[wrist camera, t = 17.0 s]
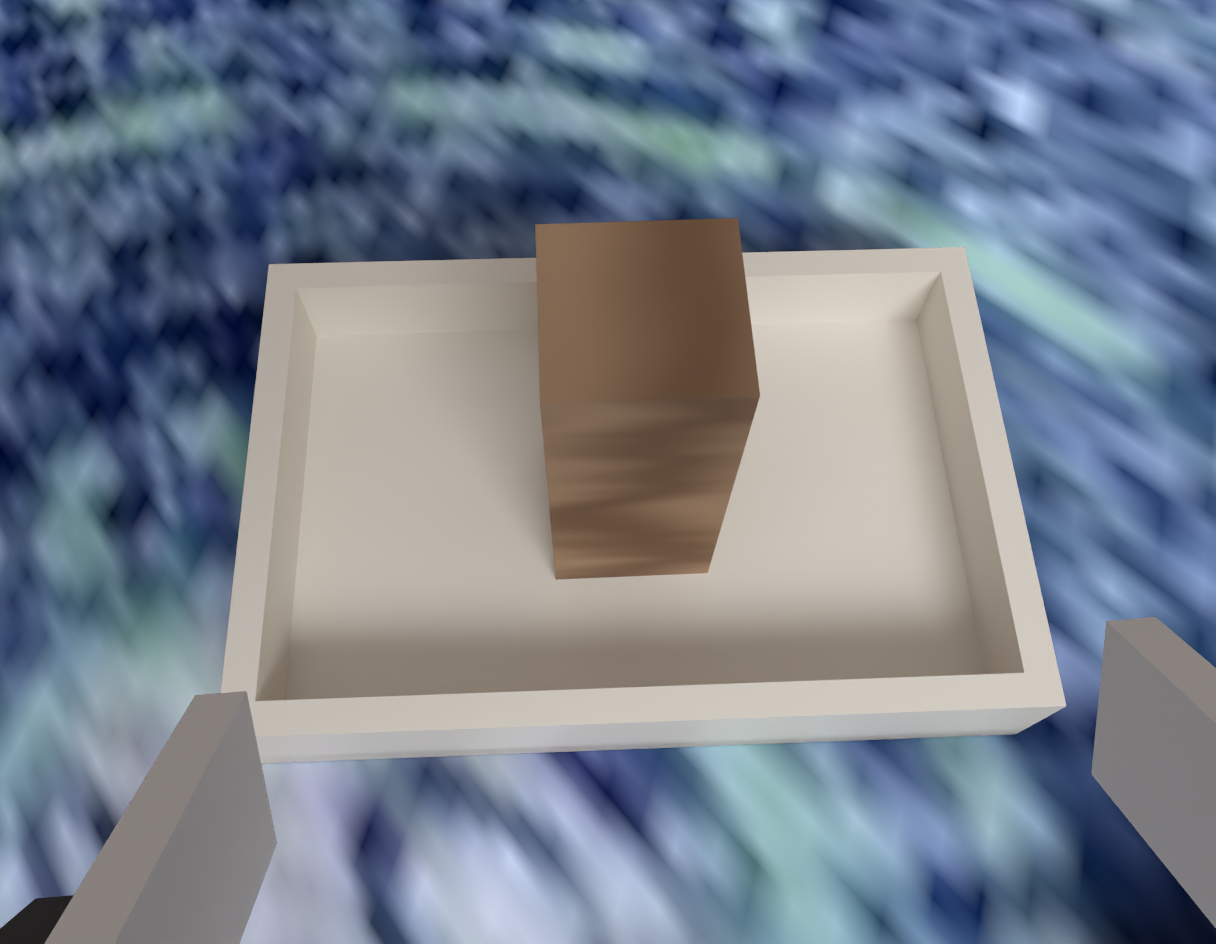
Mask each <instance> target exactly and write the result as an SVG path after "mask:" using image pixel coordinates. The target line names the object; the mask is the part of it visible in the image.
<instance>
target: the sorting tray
mask: <svg viewBox="0 0 1216 944" xmlns="http://www.w3.org/2000/svg"><path fill="white" fill-rule="evenodd" d="M742 255H743V263H744V270H745V278H746V286H747V294H748V302H749V310H750V318H751V326H752V334H753V342H754V350H755V358H756V366H757V374H758V382H759V390H760V398H759V401H758V404H757V408H756V411H755V415H754V418H753V421H752V425H751V428H750V432H749V435H748V438H747V442H746V445H745V448H744V452H743V455H742V459H741V462H740V465H739V469H738V472H737V476H736V479H735V482H734V486H733V489H732V492H731V496H730V499H729V503H728V506H727V509H726V513H725V516H724V520H723V523H722V526H721V530H720V533H719V536H718V540H717V543H716V547H715V550H714V553H713V557H712V560H711V564H710V567H709V570H708V573H699V574H676V575H652V576H628V577H605V578H581V579H558V580H556V578H555V567H554V555H553V544H552V533H551V522H550V511H549V499H548V488H547V477H546V466H545V454H544V443H543V432H542V421H541V410H540V386H539V348H538V310H537V272H536V258H505V259H464V260H423V261H382V262H341V263H300V264H269V268H268V277H267V286H266V295H265V303H264V312H263V321H262V330H261V339H260V348H259V357H258V365H257V374H256V383H255V392H254V401H253V410H252V419H251V427H250V436H249V445H248V454H247V463H246V472H245V481H244V489H243V498H242V507H241V516H240V525H239V534H238V543H237V551H236V560H235V569H234V578H233V587H232V596H231V605H230V613H229V622H228V631H227V640H226V649H225V658H224V667H223V675H222V684H221V693H228V692H240V691H247V695H248V700H249V705H250V710H251V715H252V720H253V725H254V730H255V735H256V740H257V745H258V750H259V755H260V760H261V763H283V762H309V761H335V760H361V759H387V758H412V757H438V756H464V755H490V754H516V753H542V752H567V751H593V750H619V749H645V748H671V747H697V746H723V745H748V744H774V743H800V742H826V741H852V740H878V739H903V738H929V737H955V736H981V735H1007V734H1017V733H1019V732H1020V731H1022V730H1024V729H1026V728H1028V727H1029V726H1031V725H1033V724H1035V723H1037V722H1039V721H1040V720H1042V719H1044V718H1046V717H1048V716H1049V715H1051V714H1053V713H1055V712H1057V711H1058V710H1060V709H1062V708H1064V707H1066V702H1065V698H1064V693H1063V689H1062V684H1061V680H1060V675H1059V671H1058V666H1057V662H1056V657H1055V653H1054V648H1053V644H1052V639H1051V635H1050V630H1049V626H1048V621H1047V617H1046V612H1045V608H1044V603H1043V599H1042V594H1041V590H1040V585H1039V581H1038V576H1037V572H1036V567H1035V563H1034V558H1033V554H1032V549H1031V545H1030V540H1029V536H1028V531H1027V527H1026V522H1025V518H1024V513H1023V509H1022V504H1021V500H1020V495H1019V491H1018V486H1017V482H1016V477H1015V473H1014V468H1013V464H1012V459H1011V455H1010V450H1009V446H1008V441H1007V437H1006V432H1005V428H1004V423H1003V419H1002V414H1001V410H1000V405H999V401H998V396H997V392H996V387H995V383H994V378H993V374H992V369H991V365H990V360H989V356H988V351H987V347H986V342H985V338H984V333H983V329H982V324H981V320H980V315H979V311H978V306H977V301H976V297H975V292H974V288H973V283H972V279H971V274H970V270H969V265H968V261H967V256H966V252H965V247H954V248H913V249H872V250H831V251H790V252H750V253H742Z"/></svg>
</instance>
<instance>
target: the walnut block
mask: <svg viewBox="0 0 1216 944" xmlns="http://www.w3.org/2000/svg"><path fill="white" fill-rule="evenodd" d="M535 234H536V272H537V310H538V348H539V386H540V410H541V421H542V432H543V443H544V454H545V466H546V477H547V488H548V499H549V511H550V522H551V533H552V544H553V555H554V567H555V578H556V580H558V579H581V578H605V577H628V576H652V575H676V574H699V573H708V570H709V567H710V564H711V560H712V557H713V553H714V550H715V547H716V543H717V540H718V536H719V533H720V530H721V526H722V523H723V520H724V516H725V513H726V509H727V506H728V503H729V499H730V496H731V492H732V489H733V486H734V482H735V479H736V476H737V472H738V469H739V465H740V462H741V459H742V455H743V452H744V448H745V445H746V442H747V438H748V435H749V432H750V428H751V425H752V421H753V418H754V415H755V411H756V408H757V404H758V401H759V398H760V390H759V382H758V374H757V366H756V358H755V350H754V342H753V334H752V326H751V318H750V310H749V302H748V294H747V286H746V278H745V270H744V263H743V255H742V247H741V239H740V231H739V223H738V218H726V219H694V220H662V221H629V222H597V223H565V224H535Z"/></svg>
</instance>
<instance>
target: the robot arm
mask: <svg viewBox="0 0 1216 944" xmlns="http://www.w3.org/2000/svg"><path fill="white" fill-rule="evenodd" d="M1092 775H1093V777H1094V778H1095V779H1096V780H1097V782H1098V783H1099V784H1100V785H1101V786H1102V788H1103V789H1104V790H1105V791H1106V793H1107V794H1108V795H1109V796H1110V798H1111V799H1112V800H1113V801H1114V803H1115V804H1116V805H1117V806H1118V808H1119V809H1120V810H1121V811H1122V813H1123V814H1124V815H1125V816H1126V818H1127V819H1128V820H1129V821H1130V823H1131V824H1132V825H1133V826H1134V827H1135V829H1136V830H1137V831H1138V832H1139V834H1140V835H1141V836H1142V837H1143V839H1144V840H1145V841H1146V842H1147V844H1148V845H1149V846H1150V847H1151V849H1152V850H1153V851H1154V852H1155V854H1156V855H1157V856H1158V857H1159V859H1160V860H1161V861H1162V862H1163V864H1164V865H1165V866H1166V867H1167V868H1168V870H1169V871H1170V872H1171V873H1172V875H1173V876H1174V877H1175V878H1176V880H1177V881H1178V882H1179V883H1180V885H1181V886H1182V887H1183V888H1184V890H1185V891H1186V892H1187V893H1188V895H1189V896H1190V897H1191V898H1192V900H1193V901H1194V902H1195V903H1196V905H1197V906H1198V907H1199V908H1200V910H1201V911H1202V912H1203V913H1204V914H1205V916H1206V917H1207V918H1208V919H1209V921H1210V922H1211V923H1212V924H1213V926H1214V927H1215V928H1216V668H1215V667H1214V666H1212V665H1211V664H1210V663H1209V662H1208V661H1207V660H1205V659H1204V658H1203V657H1202V656H1201V655H1200V654H1198V653H1197V652H1196V651H1195V650H1194V649H1192V648H1191V647H1190V646H1189V645H1188V644H1187V643H1185V642H1184V641H1183V640H1182V639H1181V638H1180V637H1178V636H1177V635H1176V634H1175V633H1174V632H1172V631H1171V630H1170V629H1169V628H1168V627H1167V626H1165V625H1164V624H1163V623H1162V622H1161V621H1160V620H1158V619H1157V618H1156V617H1151V618H1139V619H1127V620H1114V621H1106V631H1105V641H1104V651H1103V661H1102V672H1101V682H1100V692H1099V702H1098V712H1097V723H1096V733H1095V743H1094V753H1093V763H1092ZM276 844H277V841H276V836H275V831H274V826H273V821H272V816H271V810H270V805H269V800H268V795H267V790H266V785H265V780H264V775H263V770H262V765H261V760H260V755H259V750H258V745H257V740H256V735H255V730H254V725H253V720H252V715H251V710H250V705H249V700H248V695H247V691H240V692H228V693H216V694H203V695H195V697H194V698H193V700H192V702H191V703H190V705H189V706H188V708H187V710H186V711H185V713H184V715H183V716H182V718H181V720H180V721H179V723H178V725H177V726H176V728H175V730H174V731H173V733H172V734H171V736H170V738H169V739H168V741H167V743H166V744H165V746H164V748H163V749H162V751H161V753H160V754H159V756H158V758H157V759H156V761H155V762H154V764H153V766H152V767H151V769H150V771H149V772H148V774H147V776H146V777H145V779H144V781H143V782H142V784H141V786H140V787H139V789H138V790H137V792H136V794H135V795H134V797H133V799H132V800H131V802H130V804H129V805H128V807H127V809H126V810H125V812H124V814H123V815H122V817H121V818H120V820H119V822H118V823H117V825H116V827H115V828H114V830H113V832H112V833H111V835H110V837H109V838H108V840H107V842H106V843H105V845H104V846H103V848H102V850H101V851H100V853H99V855H98V856H97V858H96V860H95V861H94V863H93V865H92V866H91V868H90V870H89V871H88V873H87V874H86V876H85V878H84V879H83V881H82V883H81V884H80V886H79V888H78V889H77V891H76V893H75V894H74V895H72V896H61V897H49V898H37V899H35V900H33V901H32V902H31V903H30V904H29V905H28V906H26V907H25V908H24V909H23V910H22V911H21V912H19V913H18V914H17V915H16V916H15V917H13V918H12V919H11V920H10V921H9V922H8V923H6V924H5V925H4V926H3V927H2V928H1V929H0V944H239V943H240V940H241V938H242V935H243V932H244V930H245V927H246V924H247V922H248V919H249V916H250V914H251V911H252V908H253V906H254V903H255V900H256V898H257V895H258V892H259V890H260V887H261V884H262V882H263V879H264V876H265V874H266V871H267V868H268V866H269V863H270V860H271V858H272V855H273V852H274V850H275V847H276Z"/></svg>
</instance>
